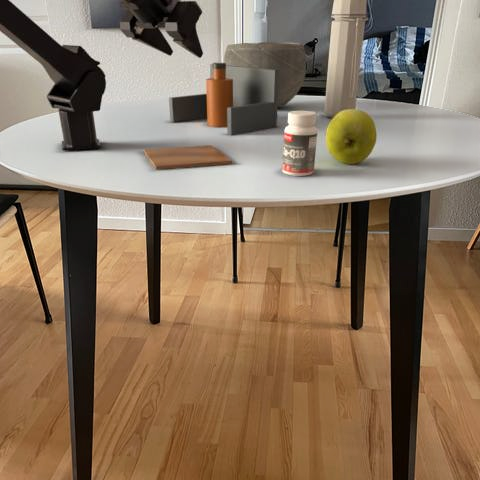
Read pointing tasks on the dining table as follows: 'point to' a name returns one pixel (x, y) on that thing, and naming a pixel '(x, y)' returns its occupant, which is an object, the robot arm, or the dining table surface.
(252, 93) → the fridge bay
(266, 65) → the bowl
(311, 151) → the pill bottle
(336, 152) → the apple
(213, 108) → the amber bottle
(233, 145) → the dining table surface
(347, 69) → the water bottle
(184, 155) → the wooden square board
